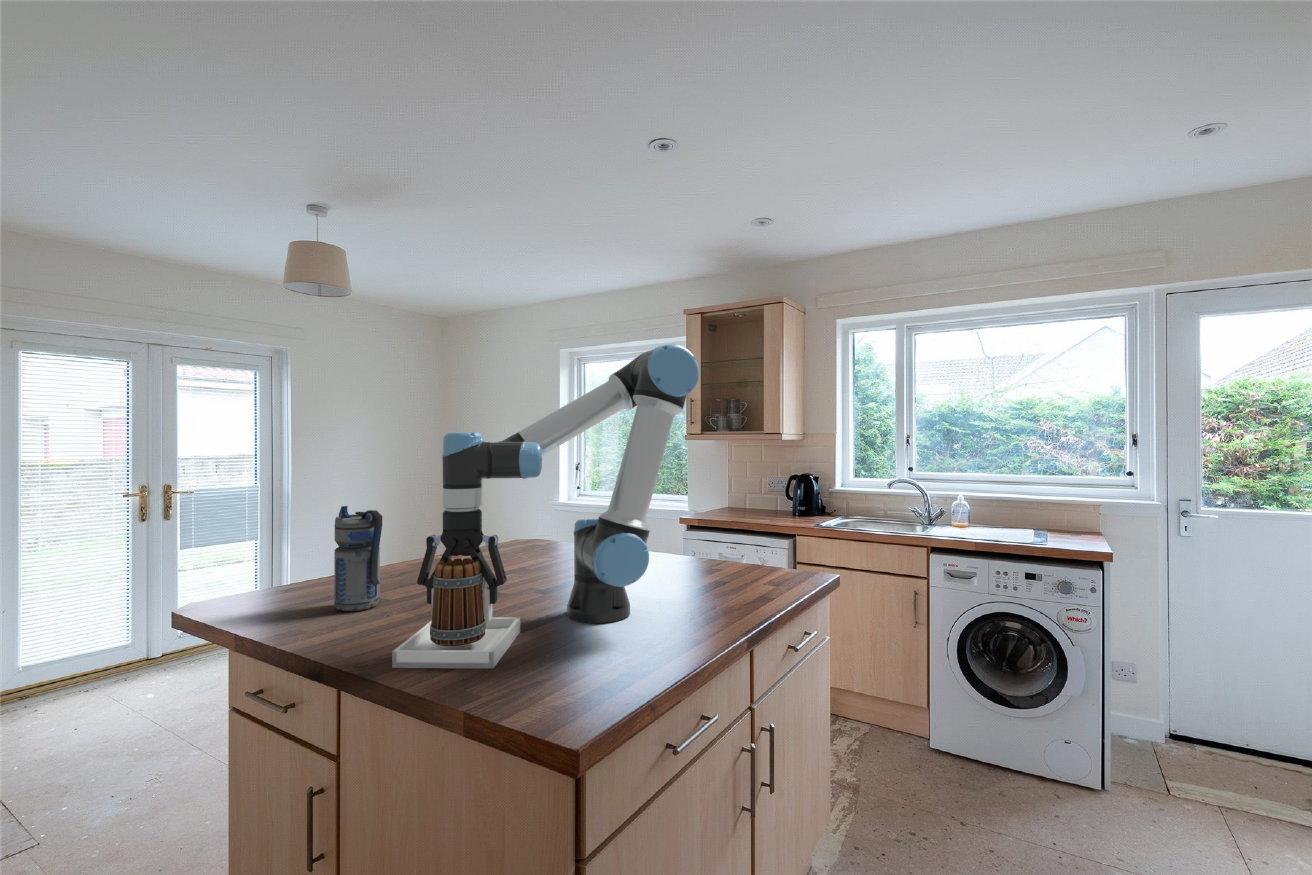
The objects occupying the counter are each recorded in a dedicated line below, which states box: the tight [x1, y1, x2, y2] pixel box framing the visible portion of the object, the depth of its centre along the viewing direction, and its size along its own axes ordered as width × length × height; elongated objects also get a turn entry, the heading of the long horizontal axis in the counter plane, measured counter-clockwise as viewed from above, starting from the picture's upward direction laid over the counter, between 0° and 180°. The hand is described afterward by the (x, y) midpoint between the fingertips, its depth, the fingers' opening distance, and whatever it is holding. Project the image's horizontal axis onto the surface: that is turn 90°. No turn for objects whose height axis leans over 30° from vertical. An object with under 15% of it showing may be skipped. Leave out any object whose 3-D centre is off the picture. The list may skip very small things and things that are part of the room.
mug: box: [430, 556, 486, 646], centre depth 123 cm, size 16×11×15 cm
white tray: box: [391, 616, 522, 669], centre depth 123 cm, size 19×22×3 cm
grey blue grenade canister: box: [333, 505, 383, 612], centre depth 153 cm, size 10×13×25 cm
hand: (462, 619), depth 123 cm, fingers closed on mug, 10 cm apart
